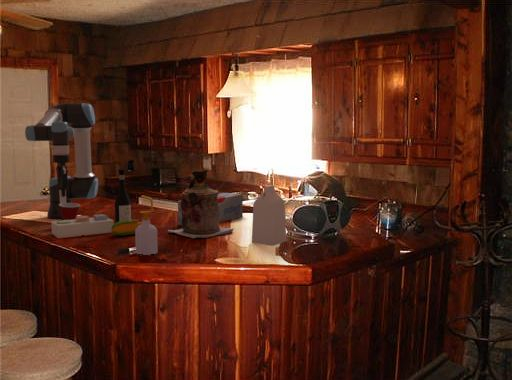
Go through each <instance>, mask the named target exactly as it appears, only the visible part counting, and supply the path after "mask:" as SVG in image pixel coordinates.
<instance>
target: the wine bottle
mask: <svg viewBox="0 0 512 380" xmlns="http://www.w3.org/2000/svg"><path fill="white" fill-rule="evenodd" d="M125 173H126V170H125V169H123V168H121V169H120V168H119V169H118V182H119V183H118V184H119V186H118V187H119V188H118V192H117V194H116V197H115V201H114V221H115V223H117V222H119V221H125V220H132V216H131V215H132V213H131V212H132V211H131V208H132V206H131V200H130V197H129V195H128V193H127V190H126V186H125V185H126V184H125V183H126V182H125ZM130 222H132V221H130ZM115 223H114V224H115Z"/></svg>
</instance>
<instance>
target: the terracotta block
mask: <svg viewBox="0 0 512 380" xmlns="http://www.w3.org/2000/svg"><path fill="white" fill-rule="evenodd" d="M89 218H90V216H88V215H78V216H77V217H76V222H85V221H89Z"/></svg>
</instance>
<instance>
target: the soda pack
mask: <svg viewBox="0 0 512 380" xmlns="http://www.w3.org/2000/svg"><path fill="white" fill-rule="evenodd" d="M217 199H218V207H219V215H220V221H219V223H221V222H225V221H230V220H235V219H239V218H243V217H244V215H243V212H244V211H243V210H244V209H243V199H244V198H243V193H233V192H221V193H219V194H218V196H217ZM180 204H181V200H177V220H178V222H177V223H178V226H181V227H182V224H181V223H182V213H181V209H180V207H181V206H180Z"/></svg>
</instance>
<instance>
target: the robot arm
mask: <svg viewBox="0 0 512 380" xmlns="http://www.w3.org/2000/svg"><path fill="white" fill-rule="evenodd" d="M95 123H96V116H95V110H94V107H93V106H92V104H90V103H83V102H82V103H81V102H80V103H79V102H76V103H74V102H73V103H70V102H69V103H68V102H67V103H66V102H65V103H64V102H63V103H59V104H56V105H53V106H51V107H50V108H48V109H47V110H46V111H45V112H44V115H43V117H42V118H41V119H40V120H38V122H37V123H36V124H35V125H27V126H25V130H24V134H25V139H26V140H27V141H29V142H52V143H51V144H52V147H51V150H52V154H53V155H52V162H53V163H54V164H57V165H56V168H55V171H56V177H52V178H51V179H50V180H49V181H48V182H49V184H48V185H49V186H48V188H49V206H48V207H49V208H48V211H47V219H50V220H51V219H52V220H63V219H62V214H61V209H60V206H59V204H61V203H73V202H72V199H75V200H76V199H81V200H82V199H87V200H88V199H95V197H97V194H98V191H99V179H98V178H97V177H96V175H95V173H94V172H93V168H92V148H91V147H92V146H91V130H92V129H93V125H95ZM69 125H70V126H69ZM72 139H74V153H75V154H74V156H75V174H73V177H71V175H68V171H69V170H68V168H67V166H66V163H67V164H68V163H70V161H71V160H70V155H69V154H70V143H69V141H71V140H72Z"/></svg>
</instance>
